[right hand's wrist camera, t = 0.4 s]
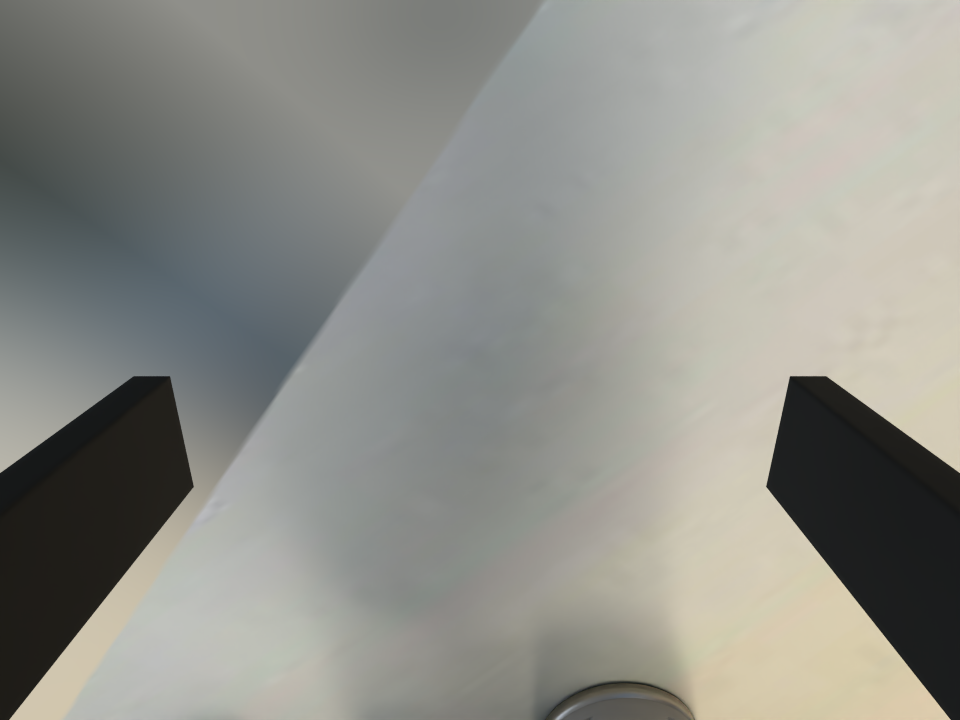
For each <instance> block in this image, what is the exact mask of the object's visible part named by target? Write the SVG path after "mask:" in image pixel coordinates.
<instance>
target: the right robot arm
mask: <svg viewBox="0 0 960 720" xmlns="http://www.w3.org/2000/svg"><path fill="white" fill-rule="evenodd" d="M193 487H194V486H193V481H192V477H191V472H190V467H189V463H188V458H187V453H186V449H185V444H184V440H183V435H182V430H181V426H180V421H179V416H178V412H177V407H176V402H175V398H174V393H173V388H172V384H171V379H170V376H134V377H132V378H131V379H129V380H128V381H127V382H125V383H124V384H123V385H121V386H120V387H119V388H117V389H116V390H114V391H113V392H112V393H110V394H109V395H107V396H106V397H105V398H103V399H102V400H101V401H99V402H98V403H96V404H95V405H94V406H92V407H91V408H89V409H88V410H87V411H85V412H84V413H83V414H81V415H80V416H78V417H77V418H76V419H74V420H73V421H72V422H70V423H69V424H67V425H66V426H65V427H63V428H62V429H61V430H59V431H58V432H56V433H55V434H54V435H52V436H51V437H50V438H48V439H47V440H45V441H44V442H43V443H41V444H40V445H38V446H37V447H36V448H34V449H33V450H32V451H30V452H29V453H27V454H26V455H25V456H23V457H22V458H21V459H19V460H18V461H16V462H15V463H14V464H12V465H11V466H10V467H8V468H7V469H5V470H4V471H3V472H1V473H0V720H9V719H10V718H11V717H12V715H13V714H14V713H15V712H16V710H17V709H18V708H19V707H20V705H21V704H22V703H23V702H24V700H25V699H26V698H27V697H28V695H29V694H30V693H31V691H32V690H33V689H34V688H35V686H36V685H37V684H38V683H39V681H40V680H41V679H42V678H43V676H44V675H45V674H46V673H47V671H48V670H49V669H50V668H51V666H52V665H53V664H54V662H55V661H56V660H57V659H58V657H59V656H60V655H61V654H62V652H63V651H64V650H65V649H66V647H67V646H68V645H69V643H70V642H71V641H72V640H73V638H74V637H75V636H76V635H77V633H78V632H79V631H80V630H81V628H82V627H83V626H84V625H85V623H86V622H87V621H88V620H89V618H90V617H91V616H92V614H93V613H94V612H95V611H96V609H97V608H98V607H99V606H100V604H101V603H102V602H103V601H104V599H105V598H106V597H107V596H108V594H109V593H110V592H111V591H112V589H113V588H114V587H115V585H116V584H117V583H118V582H119V580H120V579H121V578H122V577H123V575H124V574H125V573H126V572H127V570H128V569H129V568H130V567H131V565H132V564H133V563H134V561H135V560H136V559H137V558H138V556H139V555H140V554H141V553H142V551H143V550H144V549H145V547H146V546H147V545H148V544H149V543H150V541H151V540H152V539H153V537H154V536H155V535H156V534H157V532H158V531H159V530H160V529H161V527H162V526H163V525H164V524H165V522H166V521H167V520H168V519H169V517H170V516H171V515H172V513H173V512H174V511H175V510H176V508H177V507H178V506H179V505H180V503H181V502H182V501H183V500H184V498H185V497H186V496H187V495H188V493H189V492H190V491H191V489H192V488H193ZM766 487H767V488H768V490H769V491H770V492H771V493H772V495H773V496H774V497H775V498H776V500H777V501H778V502H779V503H780V505H781V506H782V507H783V508H784V510H785V511H786V512H787V514H788V515H789V516H790V517H791V519H792V520H793V521H794V522H795V524H796V525H797V526H798V527H799V529H800V530H801V531H802V532H803V534H804V535H805V536H806V538H807V539H808V540H809V541H810V543H811V544H812V545H813V546H814V548H815V549H816V550H817V551H818V553H819V554H820V555H821V556H822V558H823V559H824V560H825V561H826V563H827V564H828V565H829V567H830V568H831V569H832V570H833V572H834V573H835V574H836V575H837V577H838V578H839V579H840V580H841V582H842V583H843V584H844V585H845V587H846V588H847V589H848V591H849V592H850V593H851V594H852V596H853V597H854V598H855V599H856V601H857V602H858V603H859V604H860V606H861V607H862V608H863V609H864V611H865V612H866V613H867V615H868V616H869V617H870V618H871V620H872V621H873V622H874V623H875V625H876V626H877V627H878V628H879V630H880V631H881V632H882V633H883V635H884V636H885V637H886V639H887V640H888V641H889V642H890V644H891V645H892V646H893V647H894V649H895V650H896V651H897V652H898V654H899V655H900V656H901V657H902V659H903V660H904V661H905V662H906V664H907V665H908V666H909V668H910V669H911V670H912V671H913V673H914V674H915V675H916V676H917V678H918V679H919V680H920V681H921V683H922V684H923V685H924V686H925V688H926V689H927V690H928V692H929V693H930V694H931V695H932V697H933V698H934V699H935V700H936V702H937V703H938V704H939V705H940V707H941V708H942V709H943V710H944V712H945V713H946V714H947V716H948V717H949V718H950V719H951V720H960V473H959V472H957V471H956V470H955V469H953V468H952V467H951V466H949V465H948V464H946V463H945V462H944V461H942V460H941V459H939V458H938V457H937V456H935V455H934V454H933V453H931V452H930V451H928V450H927V449H926V448H924V447H923V446H922V445H920V444H919V443H917V442H916V441H915V440H913V439H912V438H911V437H909V436H908V435H906V434H905V433H904V432H902V431H901V430H900V429H898V428H897V427H895V426H894V425H893V424H891V423H890V422H888V421H887V420H886V419H884V418H883V417H882V416H880V415H879V414H877V413H876V412H875V411H873V410H872V409H871V408H869V407H868V406H866V405H865V404H864V403H862V402H861V401H860V400H858V399H857V398H855V397H854V396H853V395H851V394H850V393H848V392H847V391H846V390H844V389H843V388H842V387H840V386H839V385H837V384H836V383H835V382H833V381H832V380H831V379H829V378H828V377H826V376H790V379H789V384H788V388H787V393H786V398H785V402H784V407H783V412H782V416H781V421H780V426H779V430H778V435H777V439H776V444H775V449H774V453H773V458H772V463H771V467H770V472H769V477H768V481H767V486H766ZM546 720H694V718H693V716H692V714H691V712H690V711H689V709H688V708H687V707H686V706H685V705H684V704H683V703H682V702H681V701H680V700H679V699H677V698H676V697H674V696H673V695H671V694H669V693H667V692H665V691H663V690H660V689H657V688H654V687H651V686H646V685H641V684H630V683H619V684H608V685H602V686H598V687H594V688H590V689H587V690H584V691H582V692H580V693H577V694H575V695H573V696H571V697H570V698H568V699H566V700H565V701H563V702H562V703H561V704H559V705H558V706H557V707H556V708H555V709H554V710H553V711H552V712H551V713H550V714H549V716H548V717H547V718H546Z"/></svg>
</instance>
